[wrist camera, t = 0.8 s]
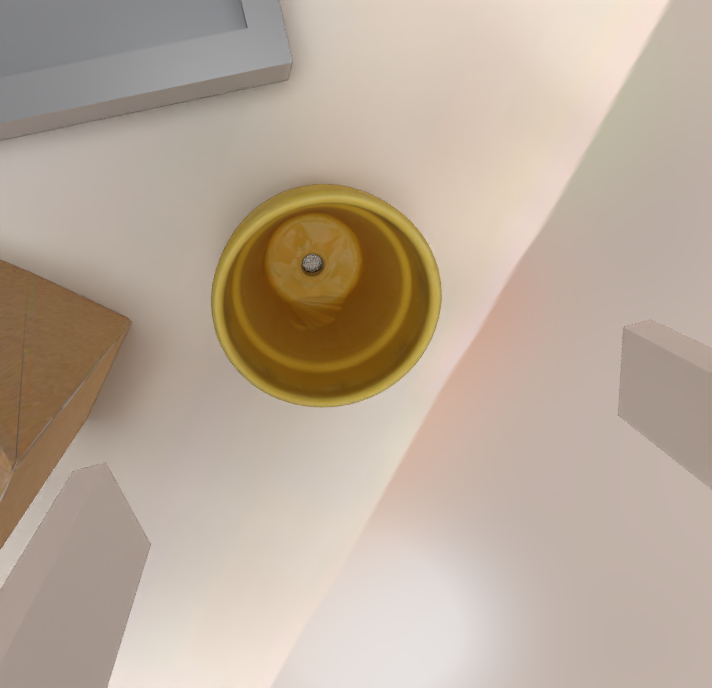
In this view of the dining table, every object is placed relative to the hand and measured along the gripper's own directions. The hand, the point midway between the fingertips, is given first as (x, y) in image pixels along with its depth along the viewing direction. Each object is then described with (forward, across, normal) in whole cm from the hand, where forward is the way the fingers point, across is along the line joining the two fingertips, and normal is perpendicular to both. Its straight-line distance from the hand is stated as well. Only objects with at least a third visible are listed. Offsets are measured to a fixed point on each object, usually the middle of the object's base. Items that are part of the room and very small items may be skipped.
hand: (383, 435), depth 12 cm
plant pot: (+20, 0, 0) cm, 20 cm away
